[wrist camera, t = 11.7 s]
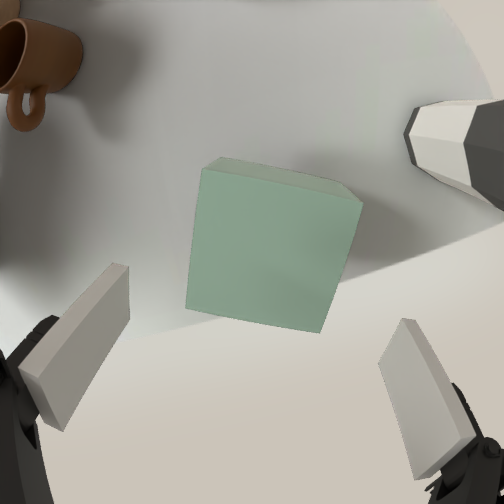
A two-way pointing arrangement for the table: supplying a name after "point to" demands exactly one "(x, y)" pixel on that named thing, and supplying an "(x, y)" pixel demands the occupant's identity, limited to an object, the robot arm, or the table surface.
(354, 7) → the table surface
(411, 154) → the wine bottle
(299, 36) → the table surface
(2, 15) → the vase
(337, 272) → the sage green foam cube
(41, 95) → the mug
